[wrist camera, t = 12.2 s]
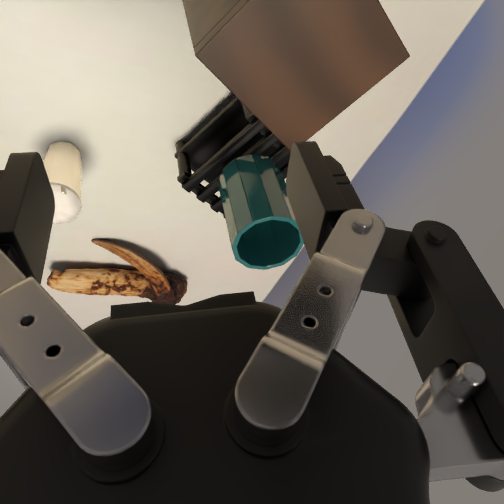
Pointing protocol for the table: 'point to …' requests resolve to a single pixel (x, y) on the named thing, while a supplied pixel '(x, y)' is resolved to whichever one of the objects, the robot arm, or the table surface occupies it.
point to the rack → (225, 150)
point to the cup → (258, 213)
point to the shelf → (295, 56)
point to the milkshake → (64, 180)
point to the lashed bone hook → (121, 279)
